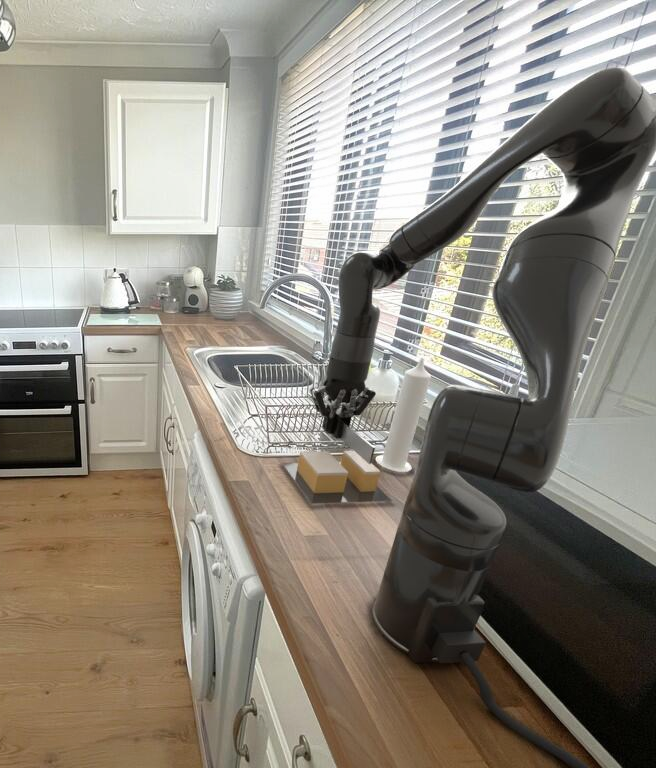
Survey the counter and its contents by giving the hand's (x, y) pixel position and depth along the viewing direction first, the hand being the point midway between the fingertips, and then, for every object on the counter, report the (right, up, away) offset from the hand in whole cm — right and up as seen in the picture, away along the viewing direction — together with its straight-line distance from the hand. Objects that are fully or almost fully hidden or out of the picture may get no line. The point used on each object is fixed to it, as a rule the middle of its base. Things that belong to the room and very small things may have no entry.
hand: (334, 431), depth 89 cm
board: (-3, -10, -5) cm, 12 cm away
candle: (+14, -8, +2) cm, 16 cm away
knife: (0, -2, -5) cm, 5 cm away
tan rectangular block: (-6, -9, -5) cm, 12 cm away
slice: (+2, -9, -5) cm, 11 cm away
